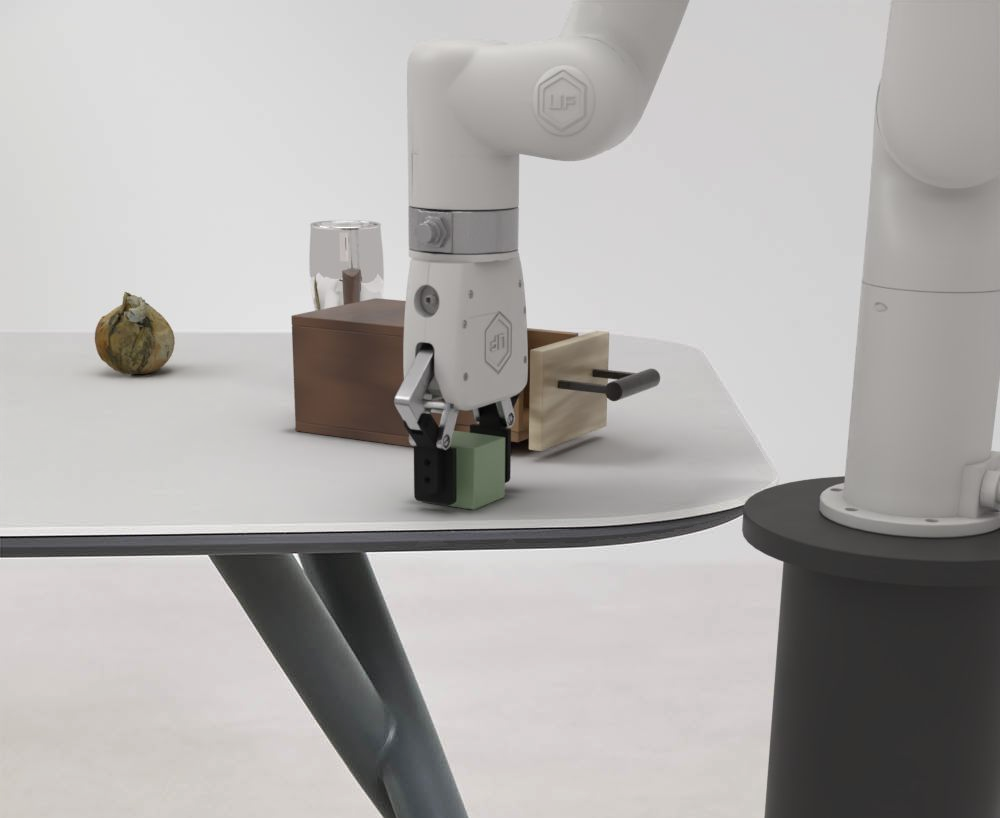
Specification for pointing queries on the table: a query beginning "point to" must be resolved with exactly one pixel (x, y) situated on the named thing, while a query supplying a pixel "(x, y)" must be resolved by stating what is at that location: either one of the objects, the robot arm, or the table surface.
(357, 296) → the beer glass
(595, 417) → the drawer
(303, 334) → the cabinet
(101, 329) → the onion
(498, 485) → the block
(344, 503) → the table surface
